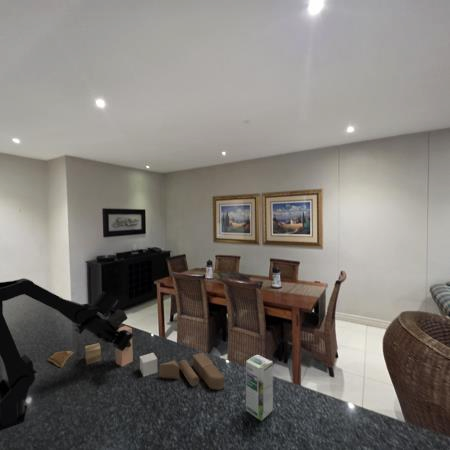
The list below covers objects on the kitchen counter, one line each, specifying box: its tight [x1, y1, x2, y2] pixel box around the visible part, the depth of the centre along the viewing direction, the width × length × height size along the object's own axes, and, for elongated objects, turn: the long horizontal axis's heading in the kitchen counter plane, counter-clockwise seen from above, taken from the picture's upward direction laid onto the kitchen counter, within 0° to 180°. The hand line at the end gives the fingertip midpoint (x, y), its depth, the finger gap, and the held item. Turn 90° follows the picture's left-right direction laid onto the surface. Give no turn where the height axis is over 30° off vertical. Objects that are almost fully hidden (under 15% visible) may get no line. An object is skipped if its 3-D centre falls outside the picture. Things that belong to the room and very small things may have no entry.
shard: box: [47, 350, 74, 368], centre depth 98 cm, size 11×8×2 cm
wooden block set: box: [159, 351, 225, 391], centre depth 85 cm, size 17×6×18 cm
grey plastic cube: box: [139, 352, 159, 377], centre depth 91 cm, size 5×5×5 cm
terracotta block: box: [114, 325, 134, 368], centre depth 97 cm, size 4×4×13 cm
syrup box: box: [245, 354, 274, 422], centre depth 71 cm, size 6×6×14 cm
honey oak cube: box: [84, 342, 102, 365], centre depth 99 cm, size 5×5×5 cm
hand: (127, 343), depth 98 cm, fingers closed on terracotta block, 4 cm apart
